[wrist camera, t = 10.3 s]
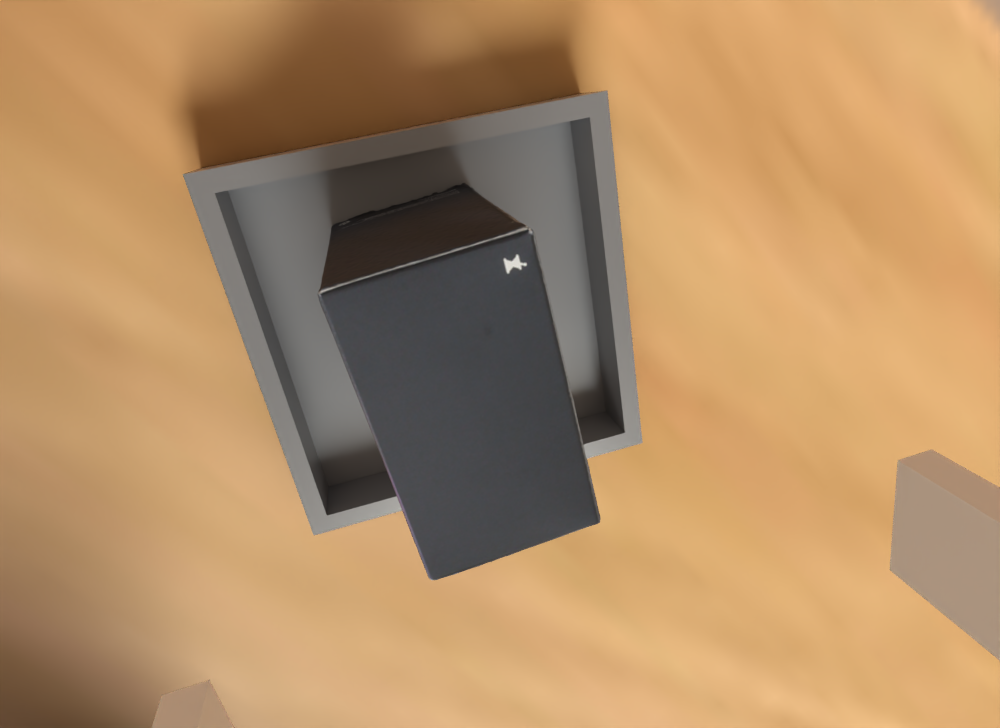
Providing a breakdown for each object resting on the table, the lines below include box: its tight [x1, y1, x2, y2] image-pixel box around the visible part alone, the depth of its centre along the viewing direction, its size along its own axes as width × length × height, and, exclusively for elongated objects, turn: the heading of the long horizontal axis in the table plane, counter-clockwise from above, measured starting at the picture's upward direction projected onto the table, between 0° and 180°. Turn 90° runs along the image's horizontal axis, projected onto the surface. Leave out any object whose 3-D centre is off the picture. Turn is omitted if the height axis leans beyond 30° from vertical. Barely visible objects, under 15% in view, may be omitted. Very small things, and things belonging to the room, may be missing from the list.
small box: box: [318, 183, 600, 580], centre depth 23 cm, size 11×6×10 cm, turn 15°
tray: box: [183, 91, 642, 535], centre depth 27 cm, size 16×16×3 cm
